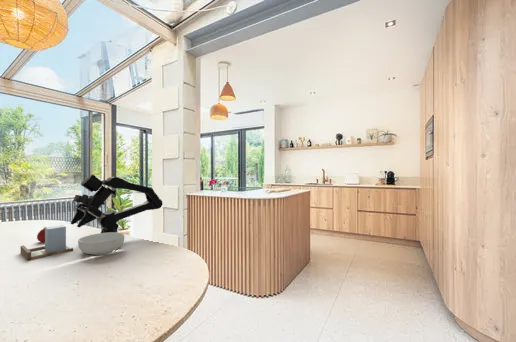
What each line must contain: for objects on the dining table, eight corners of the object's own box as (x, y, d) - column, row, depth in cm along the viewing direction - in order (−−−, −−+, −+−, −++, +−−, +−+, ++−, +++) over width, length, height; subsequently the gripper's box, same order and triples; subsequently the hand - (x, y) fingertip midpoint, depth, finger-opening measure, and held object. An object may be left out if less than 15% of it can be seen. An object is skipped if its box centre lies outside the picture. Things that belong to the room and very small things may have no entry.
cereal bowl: (132, 247, 112) (132, 232, 112) (106, 261, 96) (106, 243, 96) (98, 245, 114) (98, 231, 114) (67, 259, 98) (67, 241, 97)
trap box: (63, 246, 113) (63, 238, 112) (73, 252, 105) (73, 243, 105) (20, 255, 101) (20, 245, 101) (27, 263, 93) (27, 252, 93)
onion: (45, 245, 114) (45, 228, 114) (33, 245, 114) (33, 228, 114) (56, 241, 120) (55, 225, 120) (44, 241, 120) (44, 225, 120)
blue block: (62, 247, 109) (62, 225, 109) (65, 249, 106) (65, 226, 106) (45, 250, 104) (45, 227, 104) (48, 253, 101) (48, 229, 101)
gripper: (78, 186, 120) (52, 213, 112) (92, 188, 108) (63, 218, 100) (98, 199, 126) (74, 225, 118) (112, 203, 115) (87, 232, 107)
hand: (74, 225), depth 111 cm, fingers open, 9 cm apart
